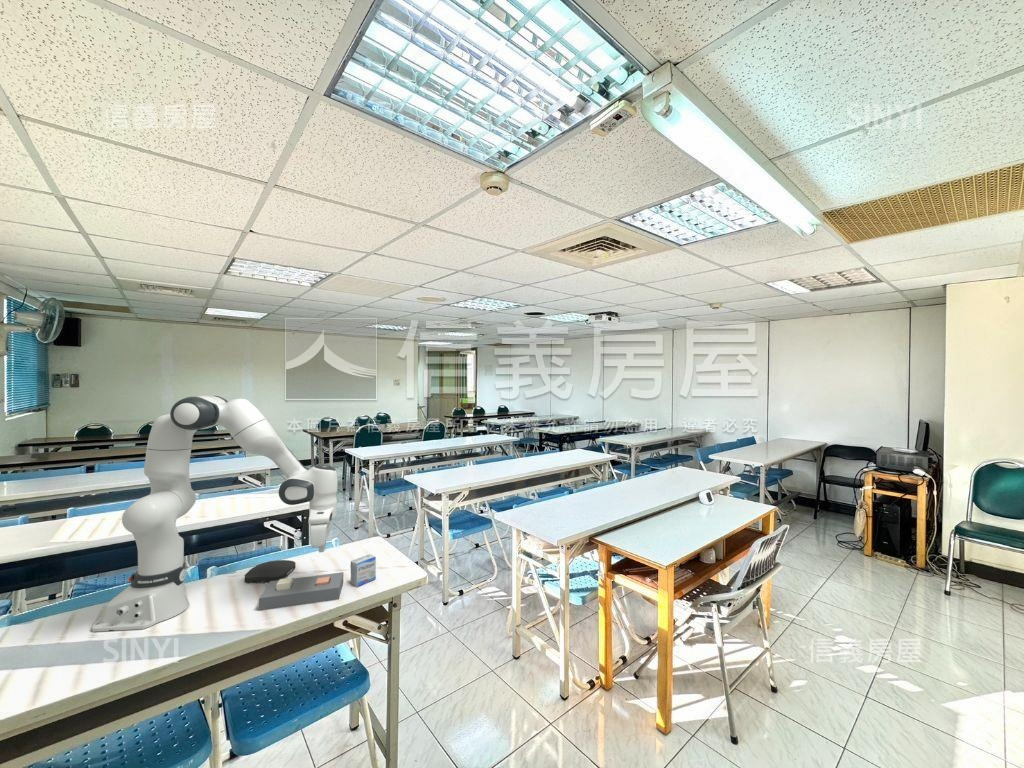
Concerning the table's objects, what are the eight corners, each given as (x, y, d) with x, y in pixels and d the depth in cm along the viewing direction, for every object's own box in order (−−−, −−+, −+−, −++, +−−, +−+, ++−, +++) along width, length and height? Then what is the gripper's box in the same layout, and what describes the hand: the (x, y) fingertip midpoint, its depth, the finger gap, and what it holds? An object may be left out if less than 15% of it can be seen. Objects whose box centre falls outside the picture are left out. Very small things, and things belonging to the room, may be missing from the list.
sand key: (276, 593, 132) (276, 584, 132) (279, 587, 136) (279, 579, 136) (289, 591, 133) (289, 582, 133) (292, 586, 137) (292, 577, 137)
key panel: (258, 610, 127) (258, 598, 127) (270, 592, 139) (270, 581, 139) (338, 599, 134) (339, 587, 134) (343, 583, 146) (343, 572, 146)
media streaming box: (261, 567, 160) (261, 560, 160) (299, 566, 161) (299, 558, 161) (239, 585, 145) (239, 576, 145) (280, 583, 146) (280, 575, 146)
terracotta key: (315, 592, 136) (315, 583, 136) (317, 586, 139) (317, 578, 140) (328, 590, 137) (328, 581, 137) (329, 584, 141) (330, 576, 141)
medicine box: (356, 587, 142) (357, 563, 142) (350, 584, 145) (350, 560, 145) (376, 579, 148) (376, 556, 149) (369, 576, 151) (369, 553, 151)
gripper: (318, 503, 148) (317, 540, 147) (307, 520, 128) (306, 563, 128) (337, 502, 150) (336, 539, 149) (328, 519, 130) (327, 561, 130)
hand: (322, 550), depth 138 cm, fingers closed
